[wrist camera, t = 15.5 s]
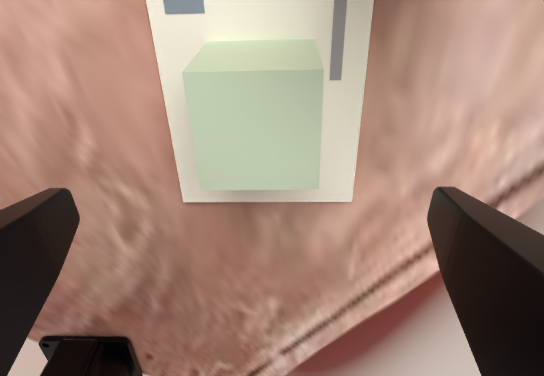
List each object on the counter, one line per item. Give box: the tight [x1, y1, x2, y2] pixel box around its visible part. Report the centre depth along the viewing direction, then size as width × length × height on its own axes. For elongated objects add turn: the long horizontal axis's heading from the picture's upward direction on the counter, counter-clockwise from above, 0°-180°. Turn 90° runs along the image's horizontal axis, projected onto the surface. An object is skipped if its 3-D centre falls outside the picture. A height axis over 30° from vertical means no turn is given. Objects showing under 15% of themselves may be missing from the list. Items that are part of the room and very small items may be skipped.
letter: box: [146, 0, 374, 202], centre depth 17 cm, size 12×9×1 cm
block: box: [182, 39, 324, 191], centre depth 15 cm, size 4×4×4 cm
